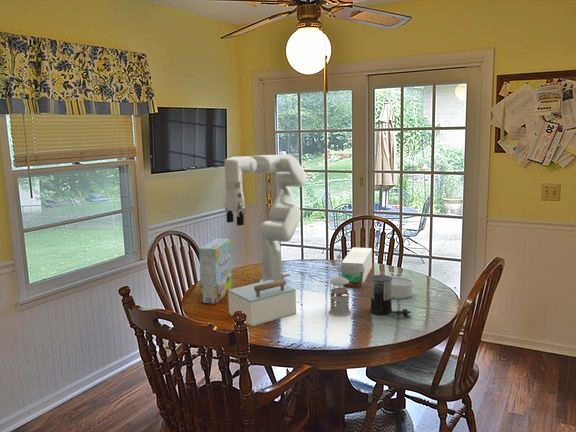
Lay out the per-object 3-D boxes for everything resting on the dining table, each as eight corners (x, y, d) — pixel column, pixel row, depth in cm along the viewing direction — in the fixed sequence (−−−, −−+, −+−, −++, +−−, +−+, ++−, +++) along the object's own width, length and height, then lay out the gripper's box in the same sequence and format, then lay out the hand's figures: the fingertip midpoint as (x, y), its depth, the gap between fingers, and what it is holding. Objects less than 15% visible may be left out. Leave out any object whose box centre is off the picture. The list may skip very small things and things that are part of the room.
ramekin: (418, 294, 235) (418, 280, 234) (403, 302, 225) (403, 287, 224) (393, 288, 244) (393, 274, 242) (378, 296, 234) (378, 281, 233)
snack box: (218, 304, 229) (215, 248, 224) (200, 303, 230) (197, 248, 226) (233, 289, 249) (230, 237, 245) (216, 288, 251) (213, 237, 247)
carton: (271, 302, 229) (271, 281, 227) (296, 313, 215) (295, 290, 213) (229, 314, 216) (228, 291, 215) (252, 326, 202) (251, 302, 200)
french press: (335, 318, 209) (334, 259, 204) (322, 309, 219) (321, 252, 215) (355, 314, 212) (355, 256, 208) (342, 305, 223) (341, 250, 218)
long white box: (362, 284, 252) (362, 263, 250) (341, 283, 255) (341, 262, 253) (372, 267, 282) (372, 248, 280) (352, 266, 285) (352, 247, 283)
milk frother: (368, 307, 220) (368, 274, 217) (405, 307, 219) (406, 273, 217) (373, 320, 206) (373, 284, 203) (412, 319, 205) (413, 284, 203)
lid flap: (271, 280, 227) (270, 269, 227) (295, 290, 213) (295, 278, 212) (228, 291, 215) (227, 279, 214) (251, 302, 200) (250, 289, 199)
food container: (337, 287, 248) (336, 267, 246) (340, 283, 253) (340, 264, 251) (361, 290, 243) (361, 269, 241) (365, 286, 249) (364, 266, 247)
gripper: (250, 186, 223) (251, 225, 225) (232, 183, 237) (233, 220, 240) (235, 188, 218) (236, 227, 221) (217, 185, 233) (219, 222, 235)
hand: (235, 223), depth 230 cm, fingers open, 9 cm apart
